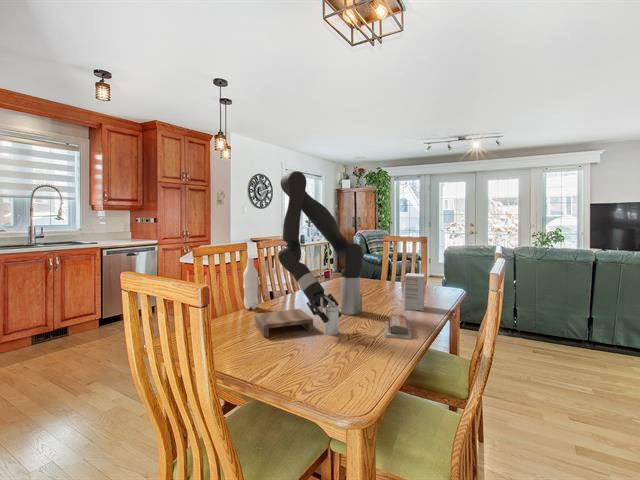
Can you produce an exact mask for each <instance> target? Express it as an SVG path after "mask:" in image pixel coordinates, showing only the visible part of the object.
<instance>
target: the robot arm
mask: <svg viewBox="0 0 640 480" xmlns="http://www.w3.org/2000/svg"><path fill="white" fill-rule="evenodd" d="M307 182H308V181H307V178H306V176H305V175H304V173H303V172H301V171H298V170H297V171H296V170H295V171H292V172H289V173H287V174H285V175H283V176H282V178H280V188H281V189H282V191H283V193H284V194H285V195H286V196H288V205H287V209H286V213H285V214H284V215H285V217H284V220H283V225H282V241H283V242H285V243H286V245H287V246H286V247H284V248H281V249H280V250H279V251H278V253H277V259H278V261H279V263H280V265H282V267H283V268H284V269H285V270H286V271H287V272H288V273H290V274H291V275H292V277H293V278H294V279H295V281H296V282H297V284H298V286H299V288H300V289H301V291H302V292H303V294H304V295H305V296H306V298H307V299H308V301H307V302H306V305H307V307H308V308H309V310H310V311H311V313H312V315H313V316H318V317H320V320H322V322H323V323H324V324H326V323H327V322H328V321H329V319H328V317H327V316H326V312H325V311H324V309H326V307H329V306H335V307H339V305H340V310H339V318H341V317H342V315H346V316H347V315H348V316H353V315H355V316H356V315H359V314H362V313H363V292H361V273H362V271H363V259H364V251H363V248H362V246H361V245H360V244H358V243H355V242H350V241H349V240H347V238H346V237H345V236H344V235H343V234H342V233H341V231H340V229H339V226H338V223H337V220H336V218H335V217H334V216H333V215H332V213H331V211H329V210H328V208H327V207H326V206H325V205H323V204H322V203H321V202H319V201H317V200H316V199H315V198H313V197H312V196H311V195H310V194H309V193H308V192H307V191H306V189H307ZM302 213H303V214H304V215H305V217H307V219H309V221H310V223H312V225H314V227H315V228H316V230H318V231H319V233H320V234H321V235H322V236H323V237H324V238H325V240H327V242H328V243H329V245H331V247H332V248H333V250H334V252H335V253H336V255H338V257H339V258H340V260H342V261H344V268H343V269H342V270H341V271H340V304H339V303H338V301H337V300H336V298H334V296H333V295H332V294H331V293H329V294H328V295H326V294H325V289H324V287H323V286H322V285H321V283H320V281H319V280H318V279H317V277H316V276H315V275H314V274H313V272H311V270H310V269H309V267H308V265H306V264H305V263H303V262H301V259H302V248H301V242H300V230H301V229H300V227H301V214H302Z"/></svg>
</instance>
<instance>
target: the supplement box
mask: <svg viewBox="0 0 640 480" xmlns="http://www.w3.org/2000/svg"><path fill="white" fill-rule="evenodd" d="M425 283H426V274H425V273H409V272H407V273H406V274H405V275H404V304H403V305H404V306H403V307H404V311H405V310H407V311H417V310H420V311H419V312H424V310H425V293H426V292H425V291H426V288H425V287H426V286H425V285H426V284H425Z"/></svg>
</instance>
